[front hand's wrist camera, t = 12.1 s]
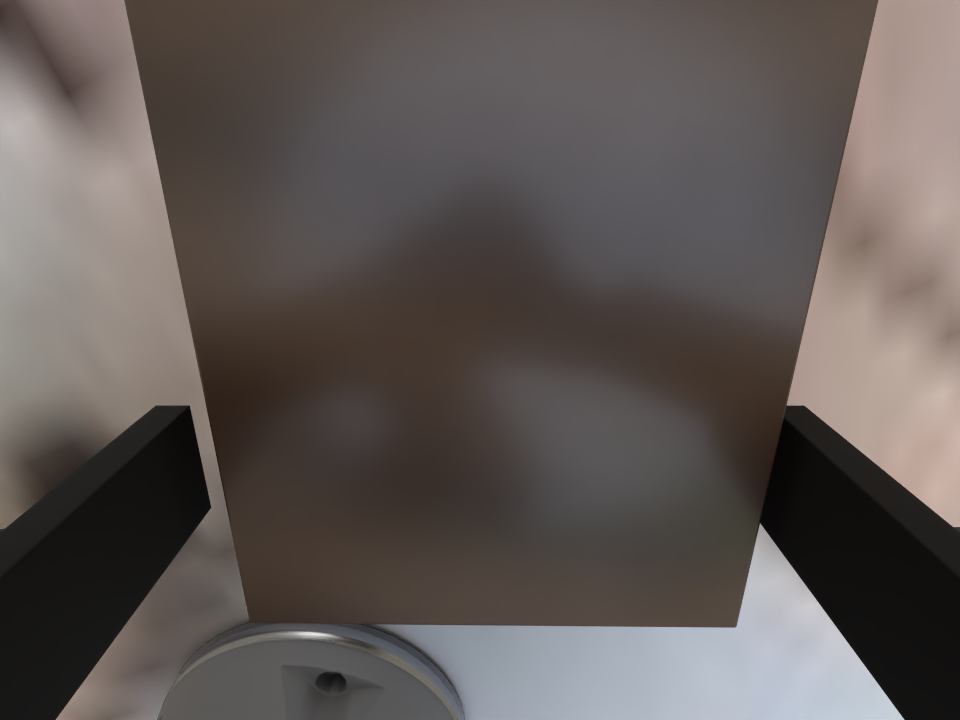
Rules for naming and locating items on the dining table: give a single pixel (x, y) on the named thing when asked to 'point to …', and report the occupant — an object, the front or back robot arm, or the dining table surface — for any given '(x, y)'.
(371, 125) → the brown-grey rectangular block
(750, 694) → the dining table surface
